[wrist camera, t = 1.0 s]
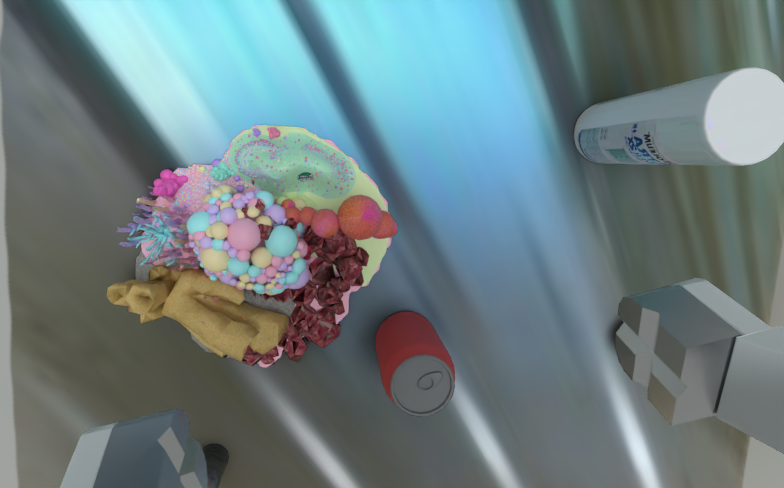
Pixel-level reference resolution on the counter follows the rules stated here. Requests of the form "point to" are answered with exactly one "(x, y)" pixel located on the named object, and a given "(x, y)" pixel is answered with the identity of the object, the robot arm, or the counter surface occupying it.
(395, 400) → the beer can
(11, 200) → the counter surface
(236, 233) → the candy landscape model
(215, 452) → the grey and gold cylinder
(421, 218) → the counter surface
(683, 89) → the spray can
